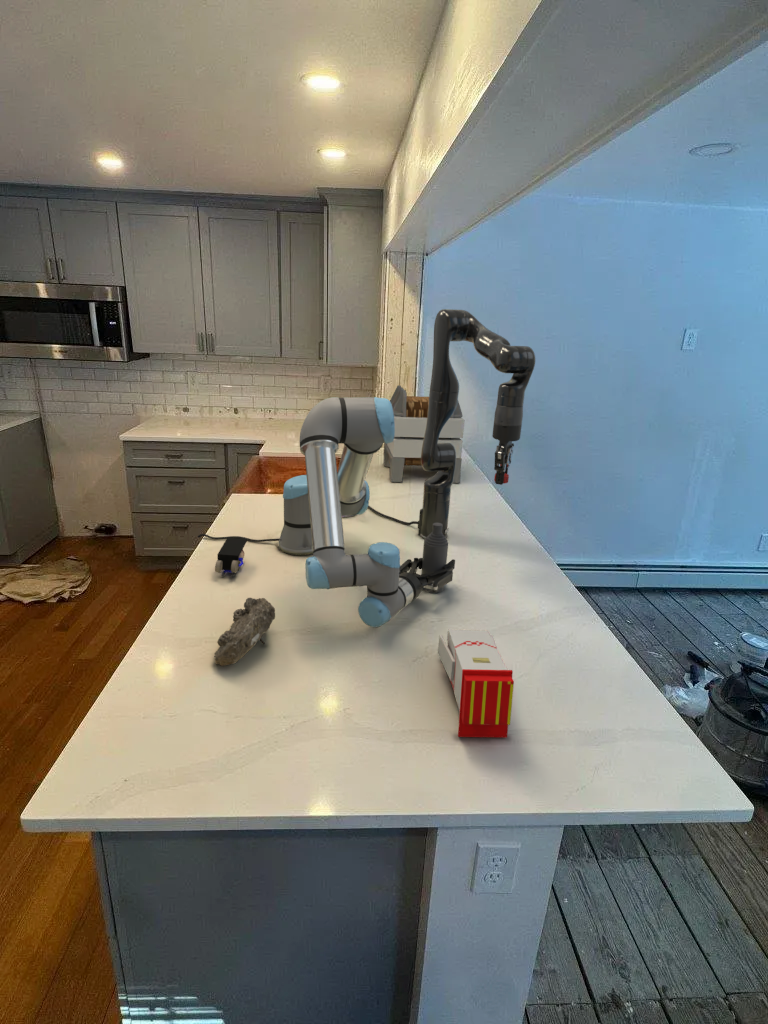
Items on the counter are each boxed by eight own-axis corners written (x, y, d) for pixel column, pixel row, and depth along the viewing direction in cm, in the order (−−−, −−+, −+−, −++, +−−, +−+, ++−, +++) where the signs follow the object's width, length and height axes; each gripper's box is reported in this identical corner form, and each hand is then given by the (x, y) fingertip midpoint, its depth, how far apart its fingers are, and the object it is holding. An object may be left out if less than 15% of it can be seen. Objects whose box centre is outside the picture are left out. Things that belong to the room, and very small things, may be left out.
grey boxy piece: (382, 463, 289) (386, 382, 275) (445, 464, 293) (451, 384, 279) (390, 482, 257) (394, 392, 243) (460, 483, 261) (468, 394, 247)
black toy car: (238, 584, 162) (249, 557, 175) (236, 562, 158) (247, 536, 172) (215, 584, 161) (227, 556, 175) (212, 561, 158) (225, 535, 171)
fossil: (230, 601, 141) (273, 572, 136) (255, 627, 144) (299, 600, 139) (195, 660, 122) (245, 629, 117) (226, 689, 125) (276, 660, 120)
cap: (492, 479, 162) (493, 472, 161) (505, 479, 162) (506, 472, 162) (496, 483, 158) (497, 476, 158) (510, 483, 159) (510, 476, 158)
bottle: (425, 579, 167) (431, 518, 160) (447, 585, 164) (453, 523, 157) (416, 588, 161) (421, 525, 154) (438, 595, 158) (444, 530, 152)
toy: (488, 613, 130) (523, 677, 101) (484, 667, 133) (517, 744, 104) (435, 612, 130) (455, 676, 101) (432, 666, 133) (451, 743, 103)
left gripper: (369, 592, 152) (411, 563, 170) (435, 614, 142) (472, 581, 161) (370, 567, 149) (412, 540, 168) (437, 588, 140) (474, 557, 158)
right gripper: (500, 416, 162) (493, 474, 168) (488, 424, 150) (481, 486, 156) (526, 419, 159) (518, 478, 165) (516, 427, 147) (508, 490, 153)
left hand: (441, 560), depth 164 cm, fingers closed on bottle, 7 cm apart
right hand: (500, 481), depth 160 cm, fingers closed on cap, 3 cm apart
